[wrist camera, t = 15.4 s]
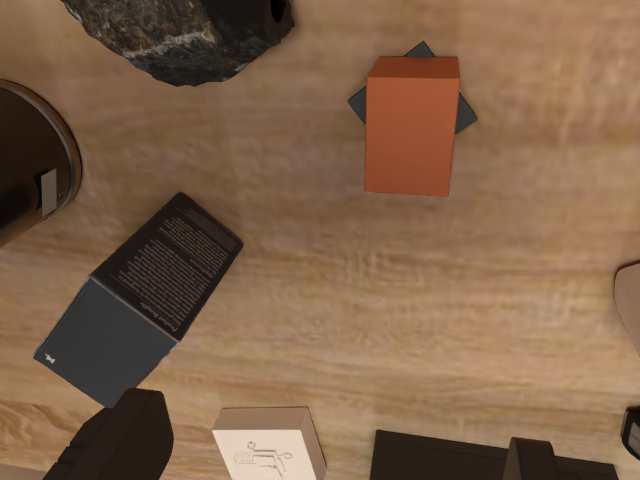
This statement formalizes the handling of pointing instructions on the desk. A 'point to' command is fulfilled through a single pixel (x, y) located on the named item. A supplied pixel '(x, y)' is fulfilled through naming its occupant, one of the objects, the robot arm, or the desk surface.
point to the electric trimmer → (632, 433)
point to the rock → (186, 34)
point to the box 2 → (269, 444)
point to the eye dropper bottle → (629, 300)
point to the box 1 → (139, 302)
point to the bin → (456, 460)
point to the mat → (463, 111)
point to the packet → (411, 125)
